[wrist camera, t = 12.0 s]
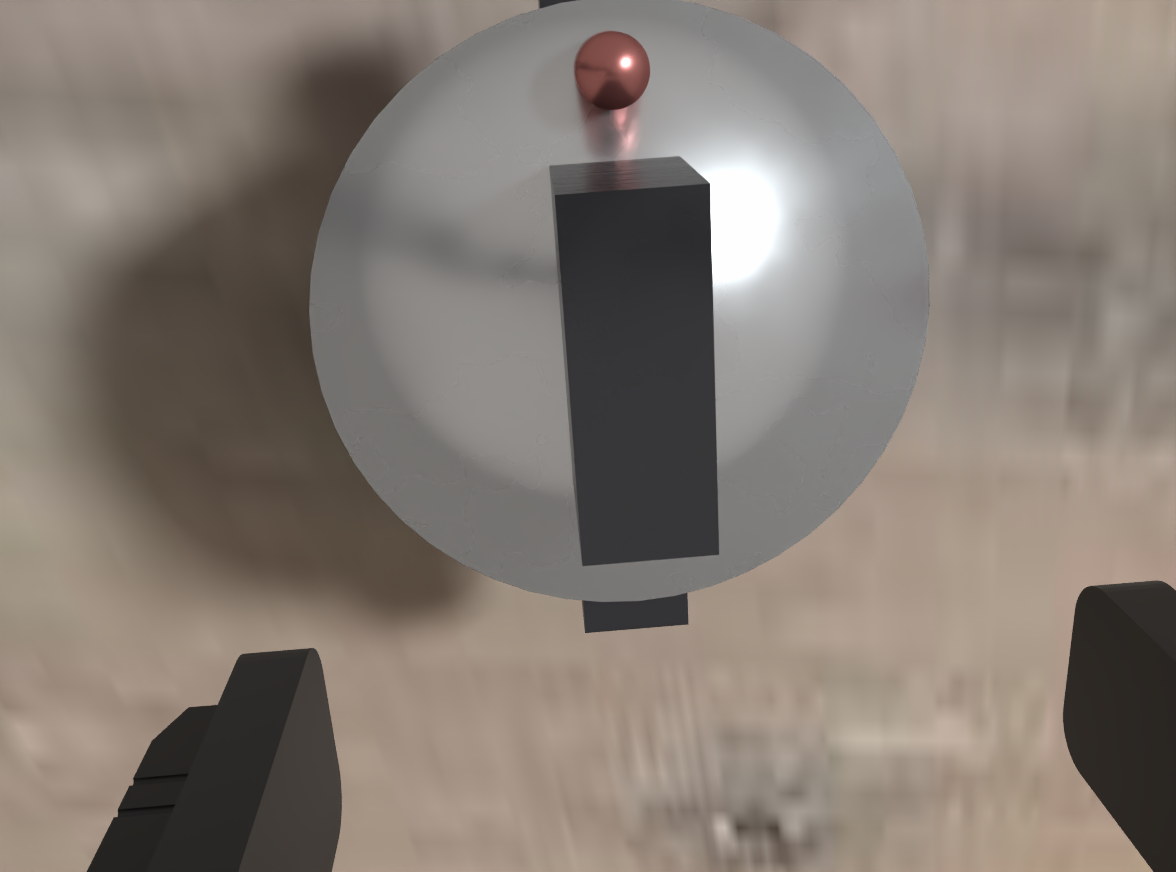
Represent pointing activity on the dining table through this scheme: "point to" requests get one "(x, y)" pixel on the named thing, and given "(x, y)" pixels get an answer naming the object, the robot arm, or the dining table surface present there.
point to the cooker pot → (631, 612)
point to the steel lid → (619, 299)
